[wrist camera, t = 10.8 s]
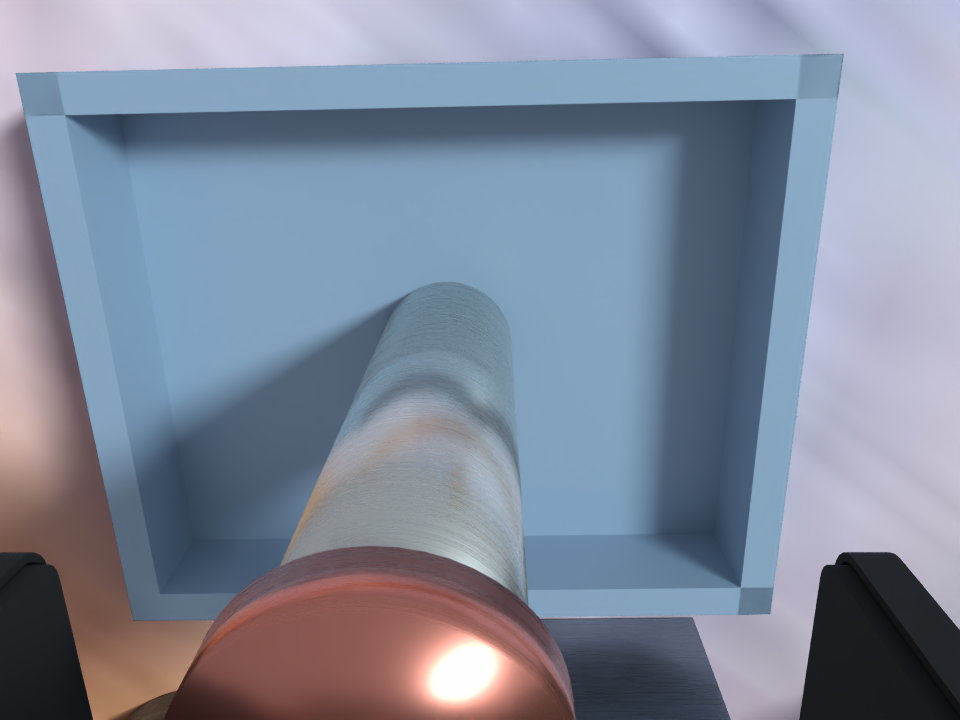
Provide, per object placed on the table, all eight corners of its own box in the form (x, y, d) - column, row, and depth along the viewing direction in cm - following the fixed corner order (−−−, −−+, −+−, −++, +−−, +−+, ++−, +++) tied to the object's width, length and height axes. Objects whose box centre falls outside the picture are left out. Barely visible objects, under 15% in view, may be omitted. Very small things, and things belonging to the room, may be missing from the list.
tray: (787, 56, 18) (843, 53, 15) (734, 545, 22) (770, 613, 19) (90, 73, 18) (15, 73, 15) (178, 552, 22) (133, 620, 20)
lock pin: (527, 264, 19) (588, 610, 7) (527, 415, 20) (579, 937, 8) (362, 267, 19) (120, 614, 7) (374, 417, 20) (190, 934, 8)
